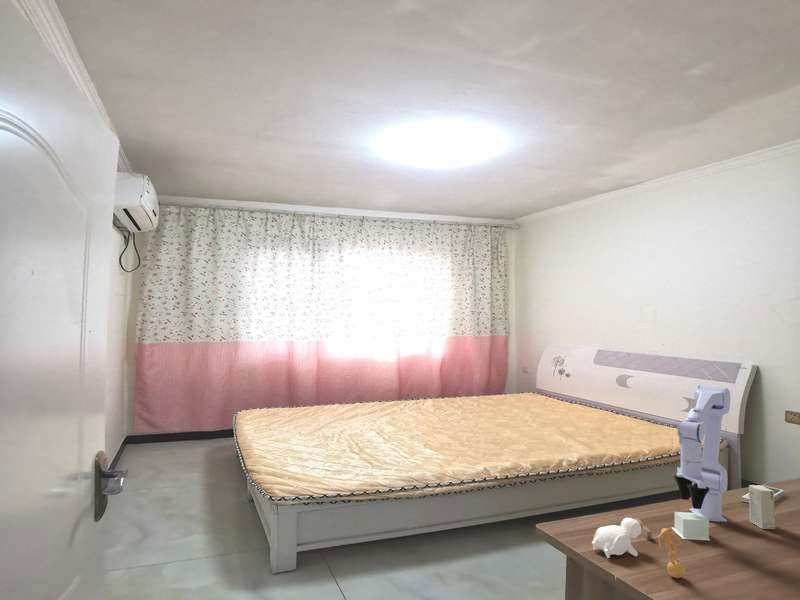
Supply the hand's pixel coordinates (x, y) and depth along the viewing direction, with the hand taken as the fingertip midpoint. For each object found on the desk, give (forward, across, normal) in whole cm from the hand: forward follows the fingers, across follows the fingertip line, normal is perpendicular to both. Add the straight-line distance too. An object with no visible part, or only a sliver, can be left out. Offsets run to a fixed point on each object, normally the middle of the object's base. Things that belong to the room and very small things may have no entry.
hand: (690, 503), depth 157 cm
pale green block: (+9, 0, 0) cm, 9 cm away
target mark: (+9, 0, 0) cm, 9 cm away
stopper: (+9, 0, -15) cm, 18 cm away
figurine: (+10, +27, -17) cm, 33 cm away
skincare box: (+10, -10, +27) cm, 30 cm away
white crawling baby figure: (+10, +15, -27) cm, 32 cm away
